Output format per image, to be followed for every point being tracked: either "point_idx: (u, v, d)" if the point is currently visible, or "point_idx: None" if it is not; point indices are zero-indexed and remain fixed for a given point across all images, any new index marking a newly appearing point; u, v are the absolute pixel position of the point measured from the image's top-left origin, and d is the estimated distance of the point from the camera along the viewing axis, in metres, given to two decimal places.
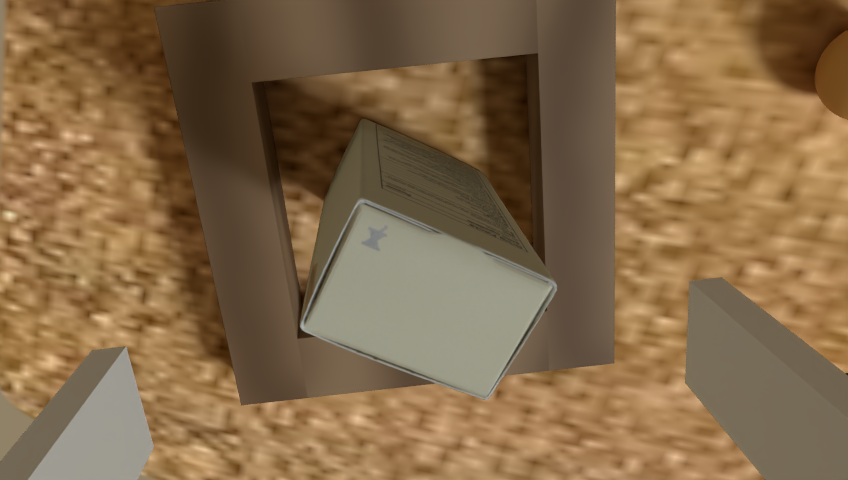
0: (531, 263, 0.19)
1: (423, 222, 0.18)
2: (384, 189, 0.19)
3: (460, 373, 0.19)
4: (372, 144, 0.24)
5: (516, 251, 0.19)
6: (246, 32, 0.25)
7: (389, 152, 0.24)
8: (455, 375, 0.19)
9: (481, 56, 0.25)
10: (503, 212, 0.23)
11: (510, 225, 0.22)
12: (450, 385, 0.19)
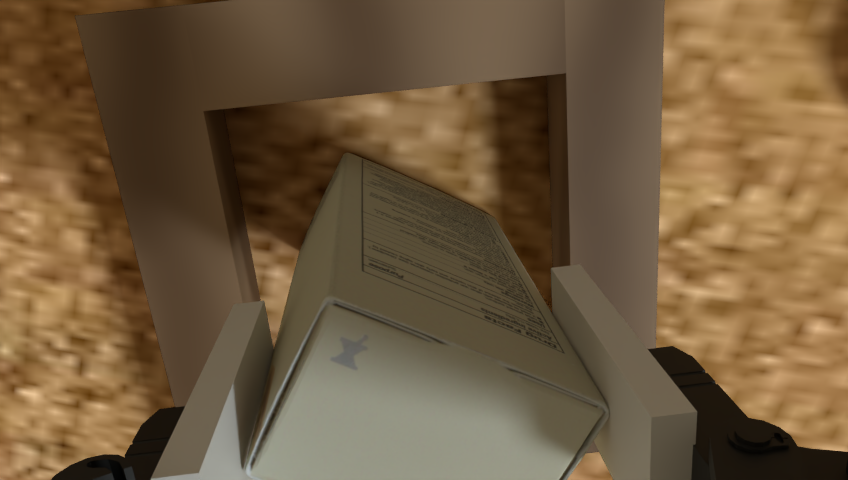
0: (572, 376, 0.13)
1: (420, 327, 0.12)
2: (366, 272, 0.13)
3: None
4: (355, 192, 0.19)
5: (550, 356, 0.14)
6: (195, 48, 0.19)
7: (377, 203, 0.19)
8: None
9: (495, 77, 0.20)
10: (524, 281, 0.18)
11: (536, 304, 0.17)
12: None
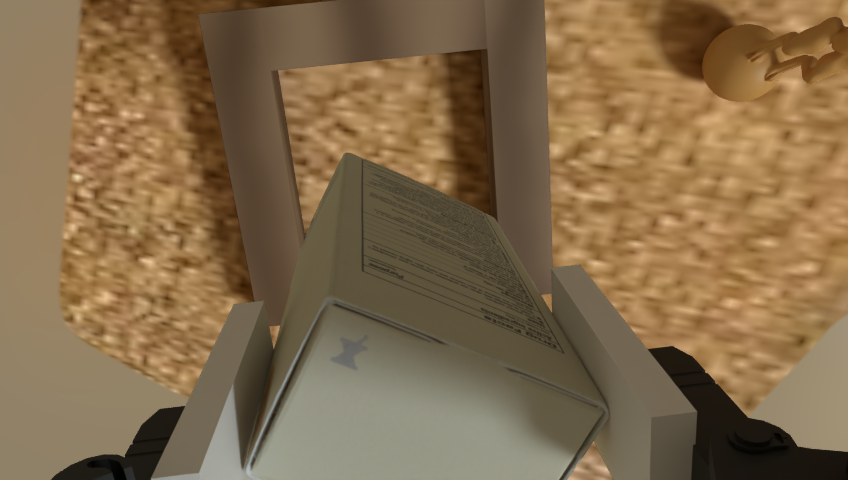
0: (572, 376, 0.13)
1: (420, 328, 0.12)
2: (366, 272, 0.13)
3: None
4: (355, 192, 0.19)
5: (550, 356, 0.14)
6: (267, 33, 0.33)
7: (377, 203, 0.19)
8: None
9: (444, 51, 0.34)
10: (524, 281, 0.18)
11: (536, 304, 0.17)
12: None
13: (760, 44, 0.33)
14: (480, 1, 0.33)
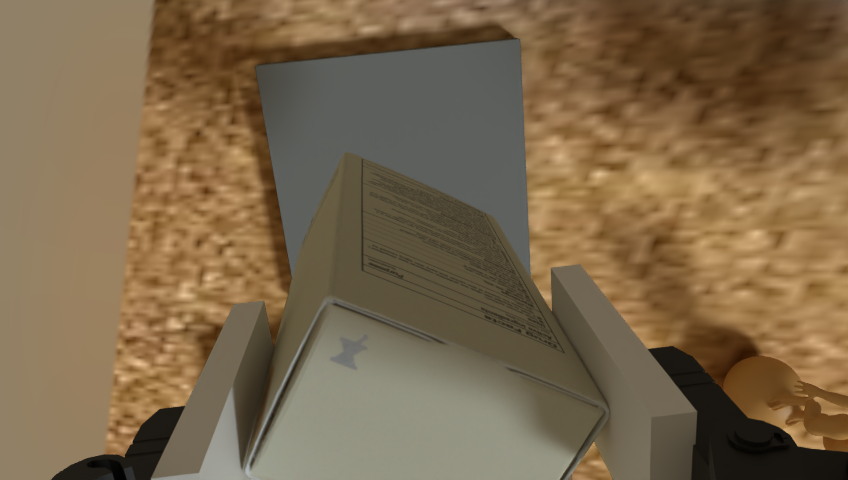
0: (572, 375, 0.13)
1: (420, 327, 0.12)
2: (365, 271, 0.13)
3: None
4: (355, 192, 0.18)
5: (550, 356, 0.14)
6: None
7: (377, 202, 0.18)
8: None
9: None
10: (525, 281, 0.18)
11: (536, 304, 0.17)
12: None
13: (781, 394, 0.34)
14: None
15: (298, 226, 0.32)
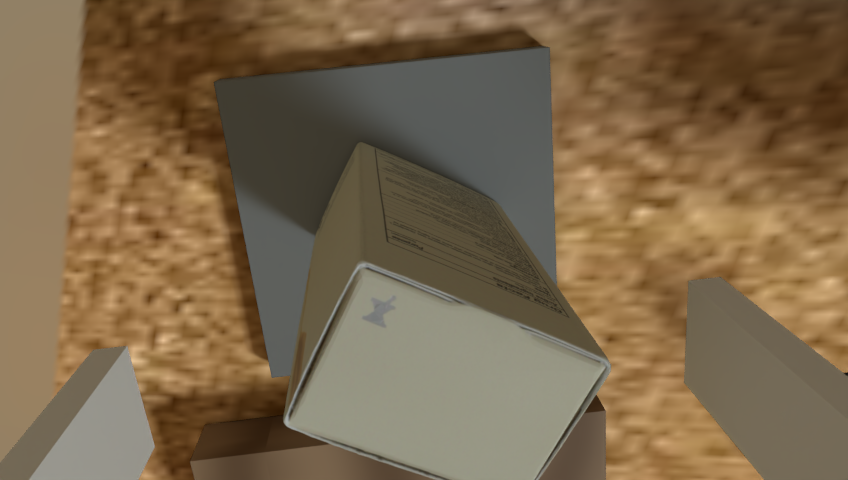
0: (577, 335, 0.15)
1: (442, 289, 0.14)
2: (390, 243, 0.15)
3: (488, 474, 0.15)
4: (372, 177, 0.20)
5: (556, 319, 0.15)
6: (273, 476, 0.27)
7: (392, 186, 0.20)
8: (481, 476, 0.15)
9: None
10: (530, 258, 0.20)
11: (541, 277, 0.18)
12: None
13: None
14: None
15: (271, 279, 0.26)
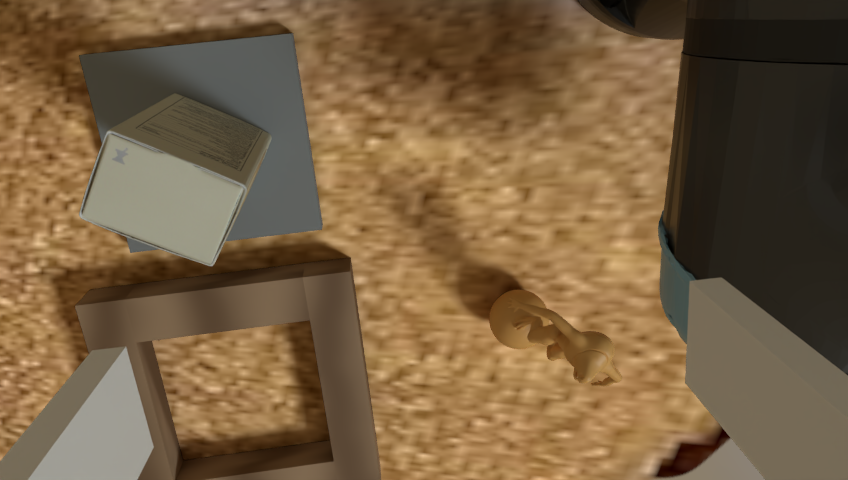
0: (233, 175, 0.29)
1: (152, 146, 0.28)
2: (137, 128, 0.29)
3: (190, 247, 0.29)
4: (161, 107, 0.34)
5: (227, 168, 0.30)
6: (131, 316, 0.41)
7: (173, 113, 0.34)
8: (188, 249, 0.30)
9: (275, 323, 0.43)
10: (251, 153, 0.34)
11: (246, 159, 0.33)
12: (186, 256, 0.30)
13: (522, 316, 0.43)
14: (301, 288, 0.42)
15: None
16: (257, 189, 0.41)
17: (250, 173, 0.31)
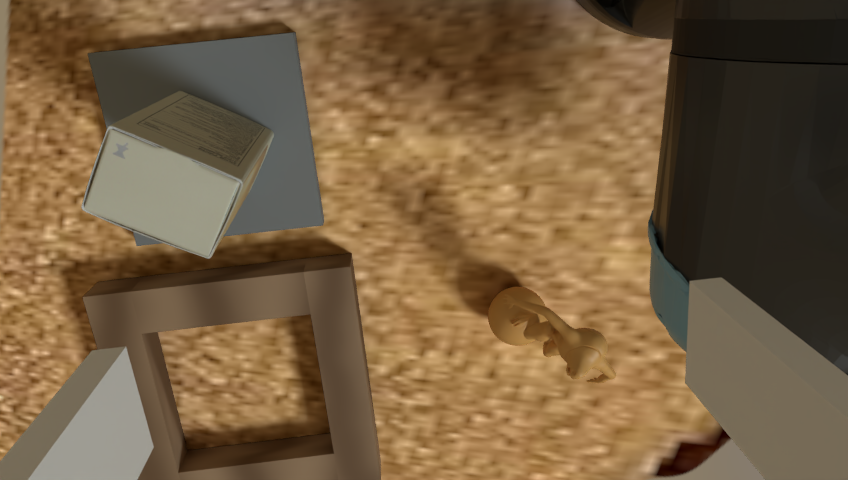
0: (230, 170, 0.30)
1: (152, 141, 0.29)
2: (138, 124, 0.30)
3: (189, 240, 0.30)
4: (164, 104, 0.35)
5: (225, 164, 0.31)
6: (137, 308, 0.43)
7: (176, 109, 0.35)
8: (186, 241, 0.30)
9: (276, 316, 0.43)
10: (251, 149, 0.35)
11: (245, 154, 0.33)
12: (184, 248, 0.31)
13: (520, 313, 0.43)
14: (302, 282, 0.43)
15: None
16: (260, 185, 0.42)
17: (248, 168, 0.32)
